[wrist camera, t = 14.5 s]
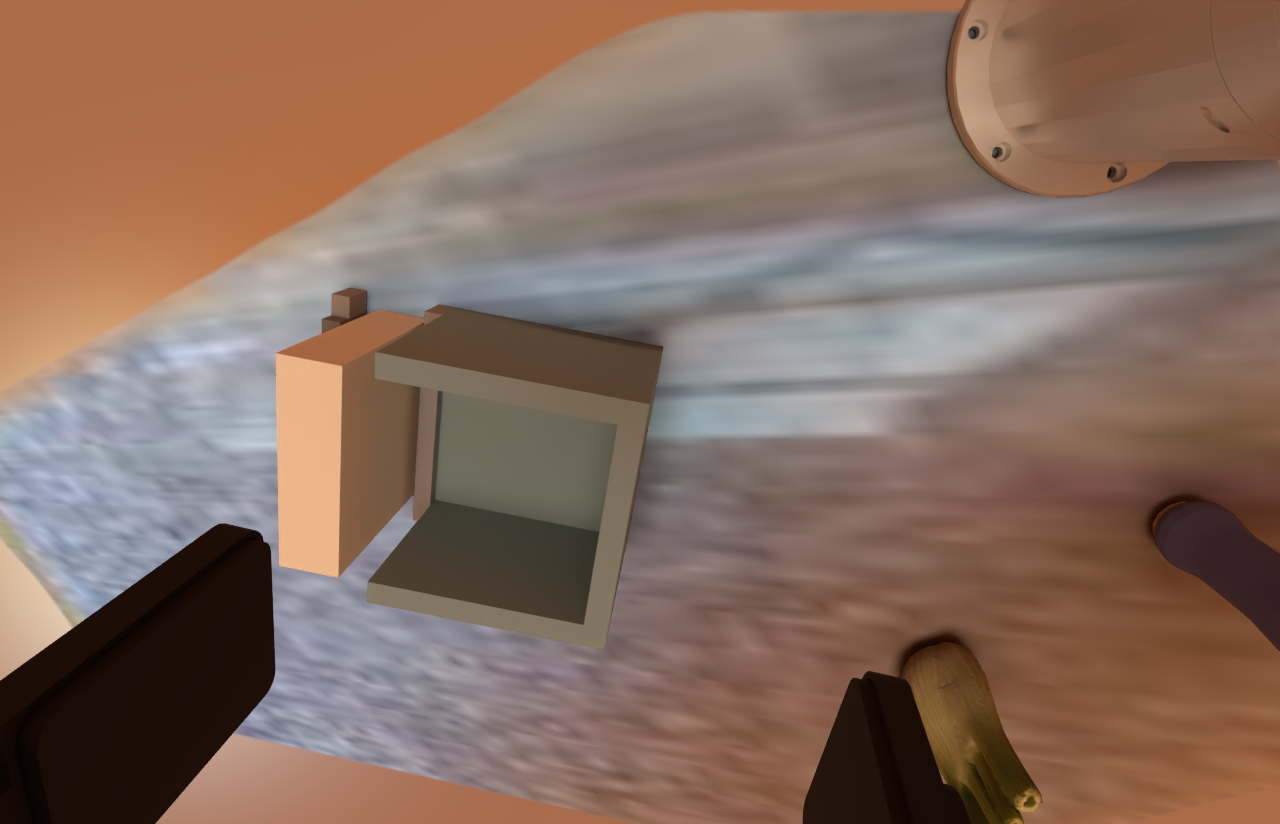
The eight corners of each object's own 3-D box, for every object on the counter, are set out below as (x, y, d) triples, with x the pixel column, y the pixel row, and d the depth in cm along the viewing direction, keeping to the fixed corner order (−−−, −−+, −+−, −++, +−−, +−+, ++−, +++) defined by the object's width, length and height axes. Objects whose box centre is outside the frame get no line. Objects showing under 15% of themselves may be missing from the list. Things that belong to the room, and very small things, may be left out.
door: (429, 318, 39) (342, 366, 29) (418, 488, 43) (338, 577, 33) (362, 306, 39) (253, 348, 30) (357, 475, 43) (259, 561, 33)
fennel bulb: (924, 711, 45) (998, 893, 34) (871, 670, 44) (929, 841, 33) (994, 660, 43) (1097, 833, 32) (940, 615, 42) (1026, 776, 31)
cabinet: (663, 346, 38) (649, 404, 29) (626, 544, 43) (604, 649, 33) (349, 287, 38) (235, 325, 29) (346, 489, 43) (246, 577, 34)
